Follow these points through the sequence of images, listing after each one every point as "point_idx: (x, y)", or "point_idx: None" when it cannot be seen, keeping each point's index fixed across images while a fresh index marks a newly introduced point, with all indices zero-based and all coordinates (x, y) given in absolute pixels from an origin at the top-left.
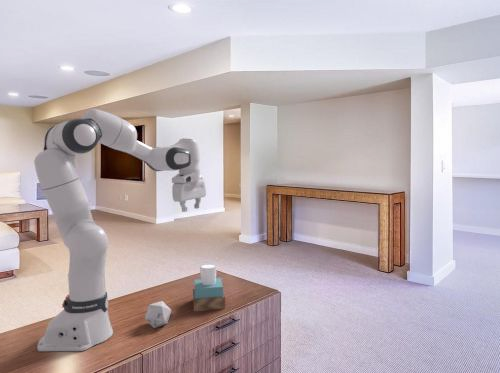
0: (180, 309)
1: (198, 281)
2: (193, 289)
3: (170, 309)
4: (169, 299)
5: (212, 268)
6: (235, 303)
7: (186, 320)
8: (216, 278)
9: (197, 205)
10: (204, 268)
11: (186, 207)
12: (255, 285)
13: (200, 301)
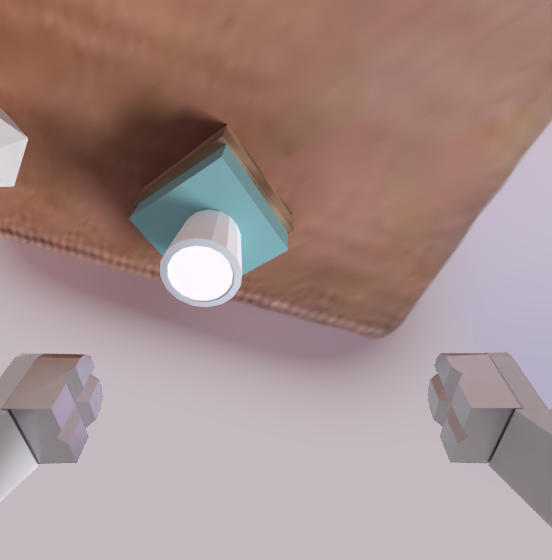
0: (130, 131)
1: (209, 187)
2: (219, 140)
3: (8, 184)
4: (182, 12)
5: (186, 302)
6: (258, 273)
7: (79, 201)
8: (273, 237)
9: (445, 444)
10: (164, 276)
11: (55, 458)
12: (430, 269)
13: None
